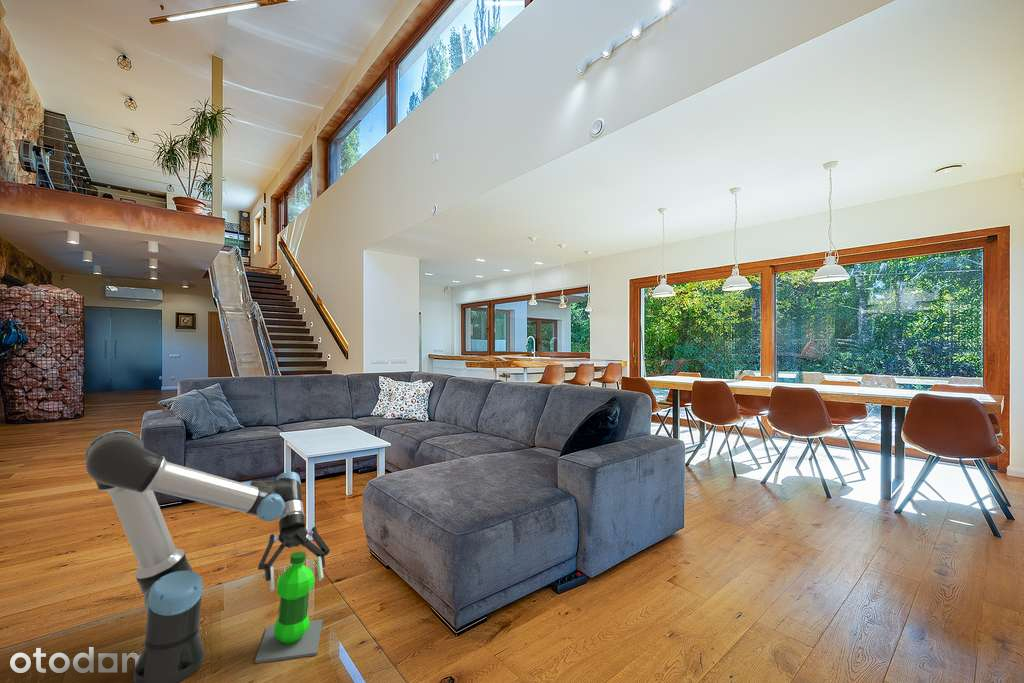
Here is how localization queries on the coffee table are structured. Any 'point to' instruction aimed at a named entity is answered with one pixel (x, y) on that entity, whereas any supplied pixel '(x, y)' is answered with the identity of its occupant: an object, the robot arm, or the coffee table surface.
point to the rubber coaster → (289, 645)
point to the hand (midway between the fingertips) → (297, 585)
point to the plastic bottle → (294, 600)
